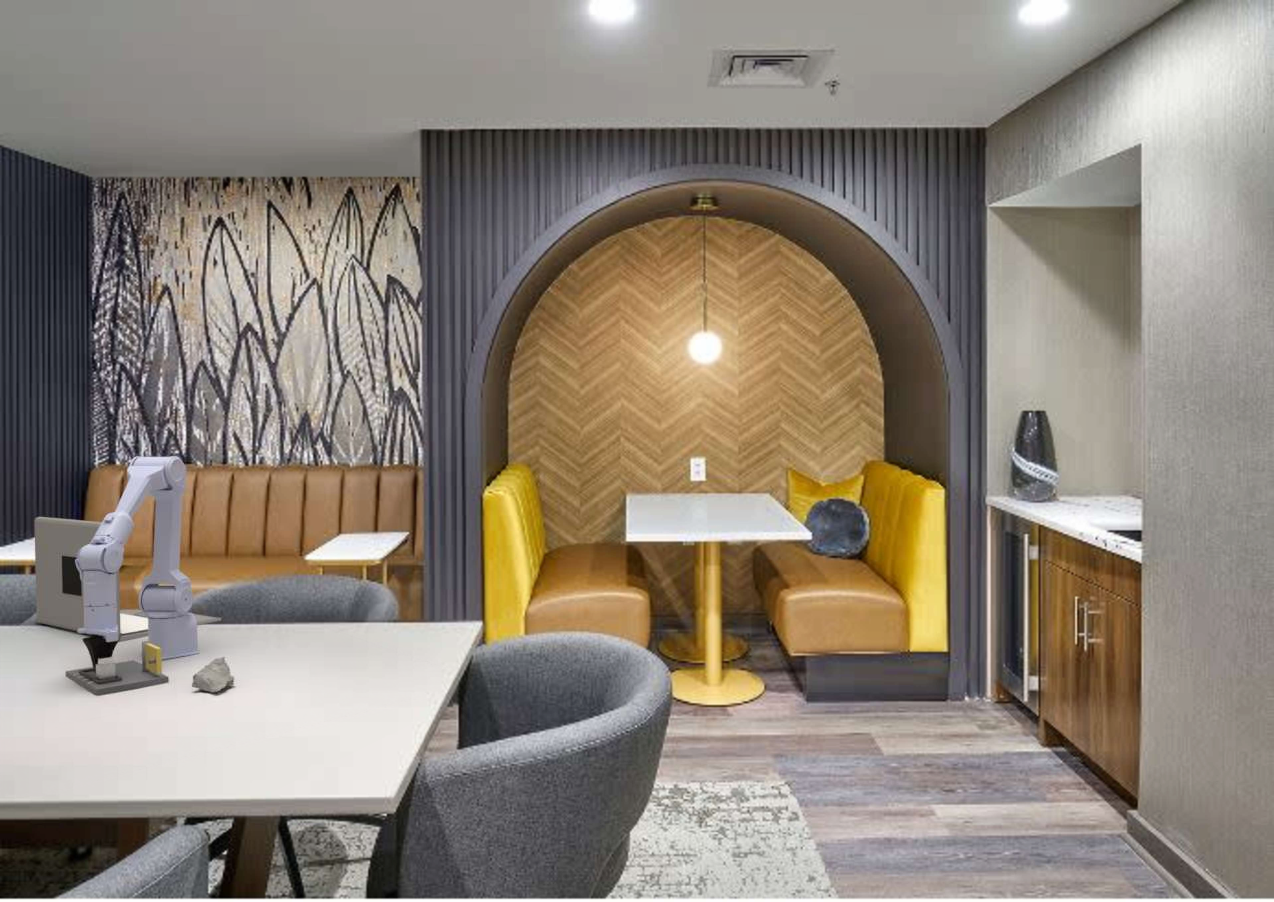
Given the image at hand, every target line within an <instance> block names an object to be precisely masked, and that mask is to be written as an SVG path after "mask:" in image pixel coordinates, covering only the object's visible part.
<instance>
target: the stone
mask: <svg viewBox="0 0 1274 902" xmlns="http://www.w3.org/2000/svg"><path fill="white" fill-rule="evenodd" d="M230 669H231V668H230V665H228V662H227V661H226V660H225V656H223V657H220V658H218V657H217V658H214V659H212V660H211V662H209V663H208V664H207V665H205V666H204V667H203V668H201V670H199V671H198V672H196V673H195V674H193V676H192V682H191V687H192V688H195V689H199V690H203V691H205V692H210V693H216V692H217V693H218V692H220V691H221V690H222V689H224V688H226V687H227V686H234V685H235V684H234V682H235V677H234V675H232V674H231V670H230Z"/></svg>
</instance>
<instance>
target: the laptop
mask: <svg viewBox="0 0 1274 902" xmlns="http://www.w3.org/2000/svg"><path fill="white" fill-rule="evenodd" d="M101 523H102V521H93V520H92V521H91V520H82V519H81V520H80V519H79V520H78V519H70V518H69V519H68V518H58V517H49V516H48V517H47V516H46V517H45V516H38V517H35V518H34V555H35V556H34V557H35V558H34V559H35V563H34V565H35V600H36V601H35V605H36V607H35V609H36V611H35V612H36V621H37V623H39V624H44V625H47V626H52V627H56V628H60V629H65V630H69V631H72V632H77V633H78V631H77V629H79V628H83V627H84V594H83V582H82V581H81V579H80V572H79V570H78V569H77V567H76V563H75V560H76V559H77V554H78V552H79V550H80V549H81V548H82V547H84V546H87V544H90V542H91V541H92V539H93V537H94V535H95V534H96V532H97V530H98V528H99V527H100V525H101ZM120 582H121V581H120V568H119V569H118V571H116V603H117V625H118V630H117V631H118V637H119V641H118V643H121V642H127V641H131V640H136V639H141V638H145V637H148V617H145V613H143V612H142V611H141V609H140V608H139V609H128V607H127V608H124V609H122V608H121V594H120V593H121V592H120V590H121V587H120V586H121V584H120ZM193 614H194V616H195V618H196V621H197V627H198V626H202V625H206V624H210V623H216V622H221V621H222V618H221V617H215V616H210V615H204V614H200V613H199V614H198V613H193ZM85 634H86V635H89V636H92V634H88V633H84V635H85Z"/></svg>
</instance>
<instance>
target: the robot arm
mask: <svg viewBox="0 0 1274 902" xmlns="http://www.w3.org/2000/svg"><path fill="white" fill-rule="evenodd" d="M126 477H127V484H126V486H125V489H124V490H123V493H122V495H121V497H120V499H119V502H118V504H117V505H116V508H115V511H113V512H110V513H108V514H106V515H105V517H104V518H103V520H102V521H101V522H102V523H101V525H100V527H99V528H98V530H97V532H96V534H95V535H94V537H93V539H92V541H91V542H90V544H87V546H84V547H82V548H81V549H80V550H79V552H78V554H77V559H76V560H75V563H76V567H77V569H78V570H79V572H80V579H81V581H82V582H83V594H84V627H83V628H79V629H77V631H78V632H77V633H78V634H85V633H88V634H87V635H89V634H92V635H90V636H89V637H83V638H82V642H83V643H84V645H85V647H86V649H87V650H88V654H89V657H90V660H91V665H92V667H93V668H94V671H95V673H96V664H98V658H103V657H109V656H112V657H113V653H114V651H115V648H116V646H117V645H118V643H119V637H118V631H117V630H118V625H117V603H116V571H118V569H119V570H120V568H121V567H122V566H123V560H124V553H125V547H124V546H125V545H126V543H127V541H128V539H129V537H130V536H131V533H132V532H133V530H134V529H135V523H134V520H133V518H134V516H135V514H136V513H137V512H138V510H139V509H140V507H141V506H142V505H143V503H144V501H145V500H146V499H147V497H148V495H149V494H150V495H151V496H152V497H153V498H154V500H155V511H154V512H155V513H154V515H155V516H154V536H153V537H154V539H153V540H154V541H153V561H152V571H151V573H149V574H148V575H147V576H146V577H144V578H143V579H142V580H141V588H140V591H139V594H138V598H137V600H138V601H137V602H138V603H137V604H138V606H139V610H140V609H141V611H142V612H143V613H145V617H148V636H147V637H148V640H147V641H150V644H152V645H155V646H157V647H159V648H161V659H162V661H163V660H169V659H175V658H181V657H187V656H194V655H198V654H199V653H200V651H198V648H199V647H198V626H197V621H196V618H195V616H194V614H195V613H192V612H189V611H190V609H191V608H192V605H193V604H194V594H193V590H192V580H191V579H190V578H189V577H188V576H187V575H185V574H184V573H183V572H181V571H180V563H181V562H180V559H181V558H180V557H181V533H182V514H183V513H182V511H183V510H182V509H183V494H185V493H186V481H187V478H186V477H187V466H186V464H185V463H184V461H183V460H182V458H180V457H179V456H176V455H173V456H172V455H171V456H142V455H140V456H139V455H137V456H135V457H133V458H132V459H131V460H130V462H129V465H128V467H127V469H126Z"/></svg>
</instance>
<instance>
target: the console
mask: <svg viewBox="0 0 1274 902" xmlns="http://www.w3.org/2000/svg"><path fill="white" fill-rule="evenodd" d="M148 643H150V641H148V640H145V641H141V663H140V662H138V661H136V660H128V661H123V662H122V661H121V662H116V663H115V662H114V663H115V676H116V679H110V680H105V681H99V680H97V679H96V673H95V671H94V668H93V666H91V667H84V668H77V669H72V670H66V671H65V678H68V679H70V680H71V681H73V682H74V683H75V684H78V686H80V687H82V688H83V689H85V690H87V691H89V692H90V693H92V694H93V695H95V696H97V697H98V696H104V695H108V694H115V693H119V692H124V691H132V690H137V689H142V688H147V687H153V686H158V685H162V684H169V681H170V679H169V676H168V675H165V674H164V673H163V672H162V673H161V674H156V673H154V672H152V671H150V670H148V669H146V659H145V644H148Z"/></svg>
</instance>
